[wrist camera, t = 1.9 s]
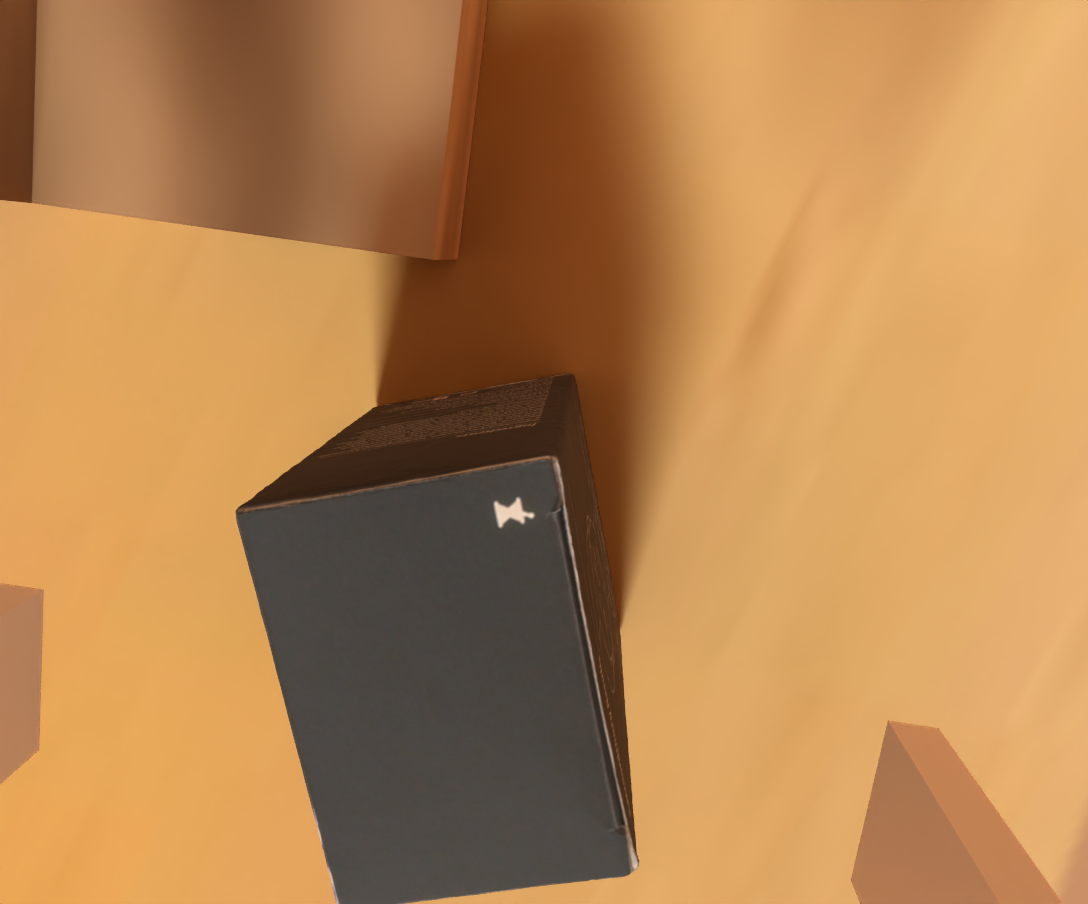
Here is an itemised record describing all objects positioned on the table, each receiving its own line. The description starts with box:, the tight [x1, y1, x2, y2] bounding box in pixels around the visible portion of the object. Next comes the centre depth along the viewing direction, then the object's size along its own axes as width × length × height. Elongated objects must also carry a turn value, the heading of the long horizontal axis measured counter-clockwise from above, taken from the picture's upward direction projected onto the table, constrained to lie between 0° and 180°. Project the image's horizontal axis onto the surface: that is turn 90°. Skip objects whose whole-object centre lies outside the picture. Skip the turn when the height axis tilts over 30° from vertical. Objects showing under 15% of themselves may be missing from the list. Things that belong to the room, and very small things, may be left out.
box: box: [236, 374, 639, 904], centre depth 21 cm, size 8×6×11 cm
